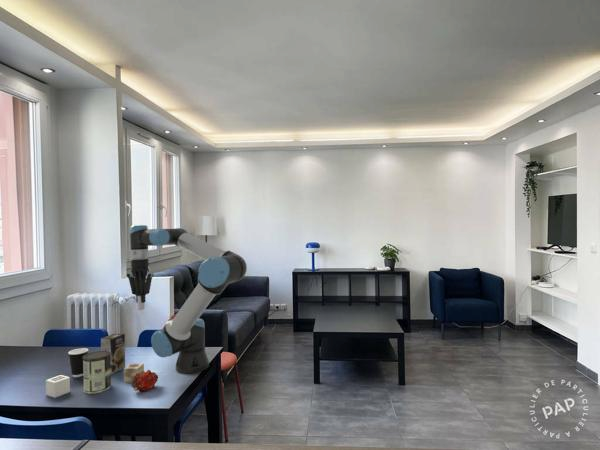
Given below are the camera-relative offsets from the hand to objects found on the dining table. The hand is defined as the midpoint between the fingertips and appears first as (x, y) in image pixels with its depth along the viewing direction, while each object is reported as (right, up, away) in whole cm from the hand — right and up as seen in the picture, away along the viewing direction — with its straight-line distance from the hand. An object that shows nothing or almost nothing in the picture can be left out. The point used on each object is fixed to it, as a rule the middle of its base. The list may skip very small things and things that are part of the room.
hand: (141, 309), depth 176 cm
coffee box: (-14, -29, +2) cm, 32 cm away
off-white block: (-25, -29, -22) cm, 44 cm away
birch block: (+1, -29, -9) cm, 30 cm away
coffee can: (-11, -29, -18) cm, 36 cm away
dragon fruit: (+10, -29, -19) cm, 36 cm away
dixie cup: (-27, -29, -3) cm, 40 cm away
